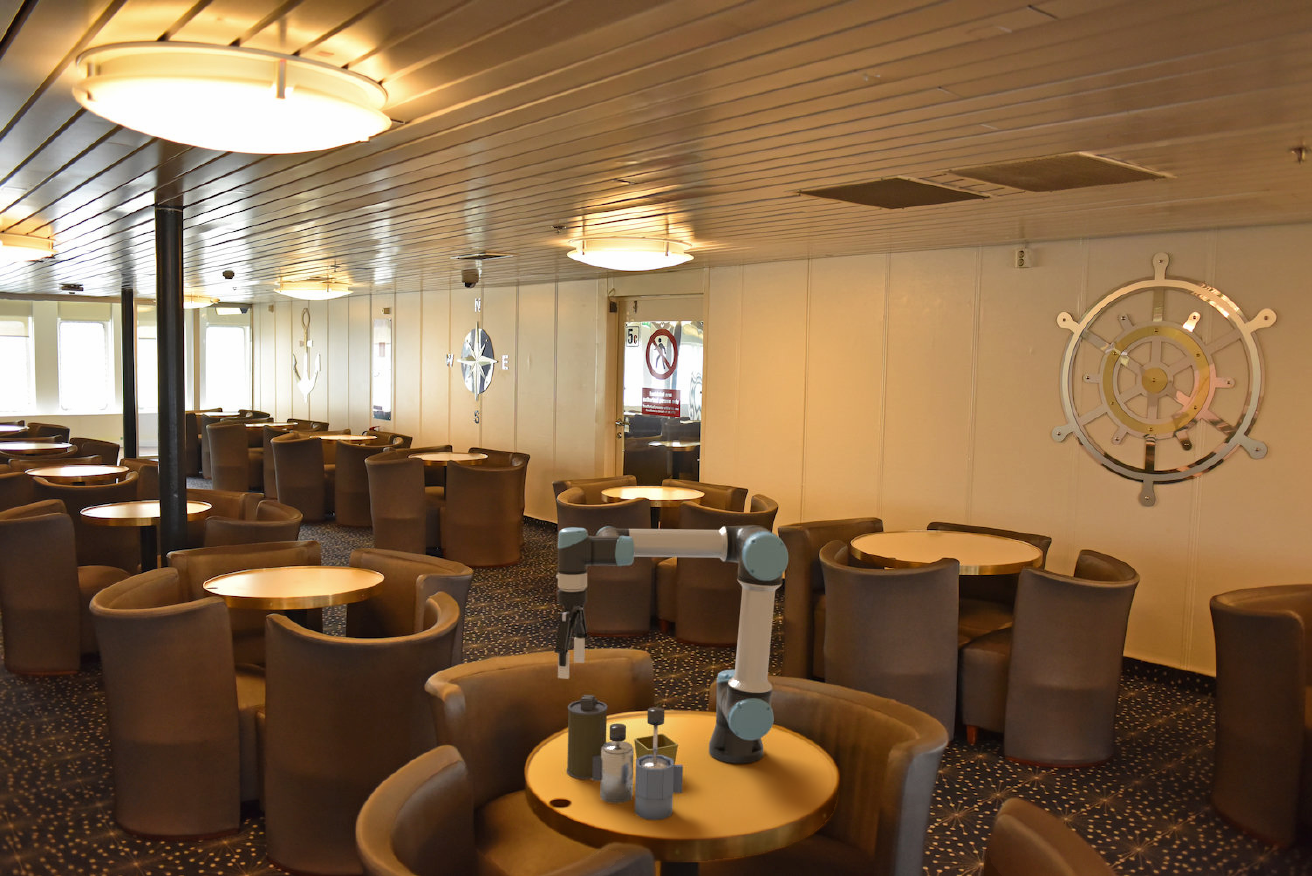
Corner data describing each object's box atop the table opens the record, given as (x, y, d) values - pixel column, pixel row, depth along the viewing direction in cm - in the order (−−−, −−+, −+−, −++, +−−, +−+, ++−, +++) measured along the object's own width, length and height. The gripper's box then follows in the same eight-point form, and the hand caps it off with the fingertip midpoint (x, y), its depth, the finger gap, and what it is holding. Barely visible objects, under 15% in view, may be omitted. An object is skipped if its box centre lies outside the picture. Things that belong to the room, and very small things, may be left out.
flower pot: (647, 784, 241) (648, 749, 240) (632, 771, 248) (633, 738, 248) (677, 778, 245) (678, 744, 244) (662, 765, 252) (663, 733, 252)
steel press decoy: (632, 789, 237) (634, 720, 236) (632, 803, 229) (634, 732, 228) (592, 788, 237) (594, 720, 236) (591, 803, 229) (593, 732, 228)
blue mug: (680, 803, 230) (681, 755, 229) (682, 820, 221) (683, 770, 220) (634, 802, 230) (635, 754, 229) (634, 819, 221) (636, 769, 220)
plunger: (667, 761, 228) (669, 705, 227) (669, 772, 222) (670, 715, 221) (640, 761, 228) (642, 705, 227) (641, 772, 221) (642, 714, 221)
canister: (600, 781, 241) (602, 705, 240) (561, 777, 244) (562, 701, 242) (610, 764, 252) (612, 691, 251) (573, 760, 254) (574, 688, 253)
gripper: (572, 577, 254) (571, 655, 255) (542, 598, 230) (541, 683, 231) (599, 579, 253) (598, 657, 254) (571, 600, 228) (571, 686, 229)
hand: (571, 670), depth 242 cm, fingers open, 13 cm apart
